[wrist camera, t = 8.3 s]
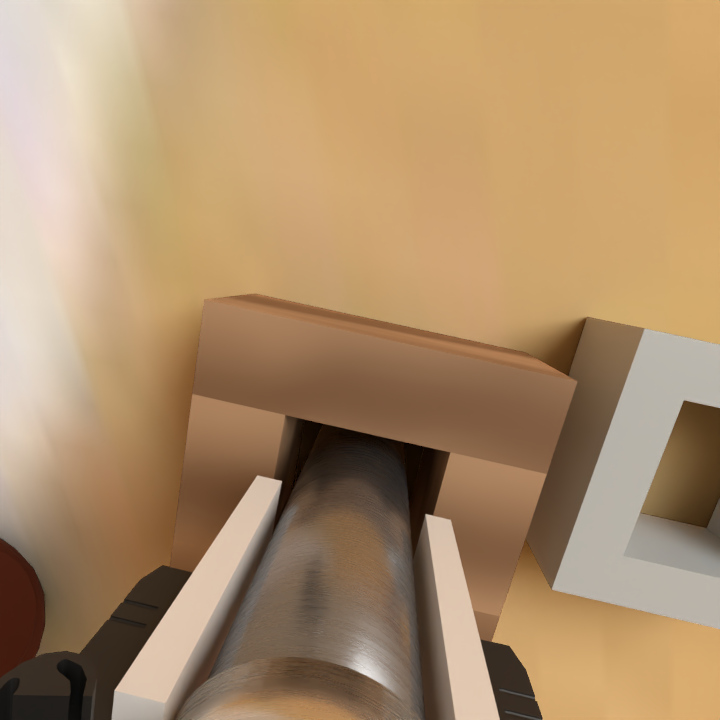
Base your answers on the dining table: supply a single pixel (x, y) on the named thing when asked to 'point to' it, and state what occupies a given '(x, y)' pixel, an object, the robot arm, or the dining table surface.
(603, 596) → the grey square frame
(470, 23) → the dining table surface
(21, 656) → the gavel
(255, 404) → the socket block
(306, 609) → the peg
